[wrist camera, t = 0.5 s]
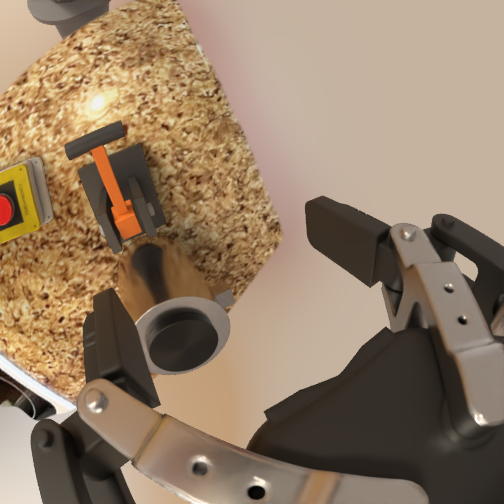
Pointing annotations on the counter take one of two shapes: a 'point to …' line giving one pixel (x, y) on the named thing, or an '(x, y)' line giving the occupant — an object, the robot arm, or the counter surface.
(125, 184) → the orange lever mount
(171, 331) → the kettle
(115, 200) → the switch
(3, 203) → the emergency button
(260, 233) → the counter surface
